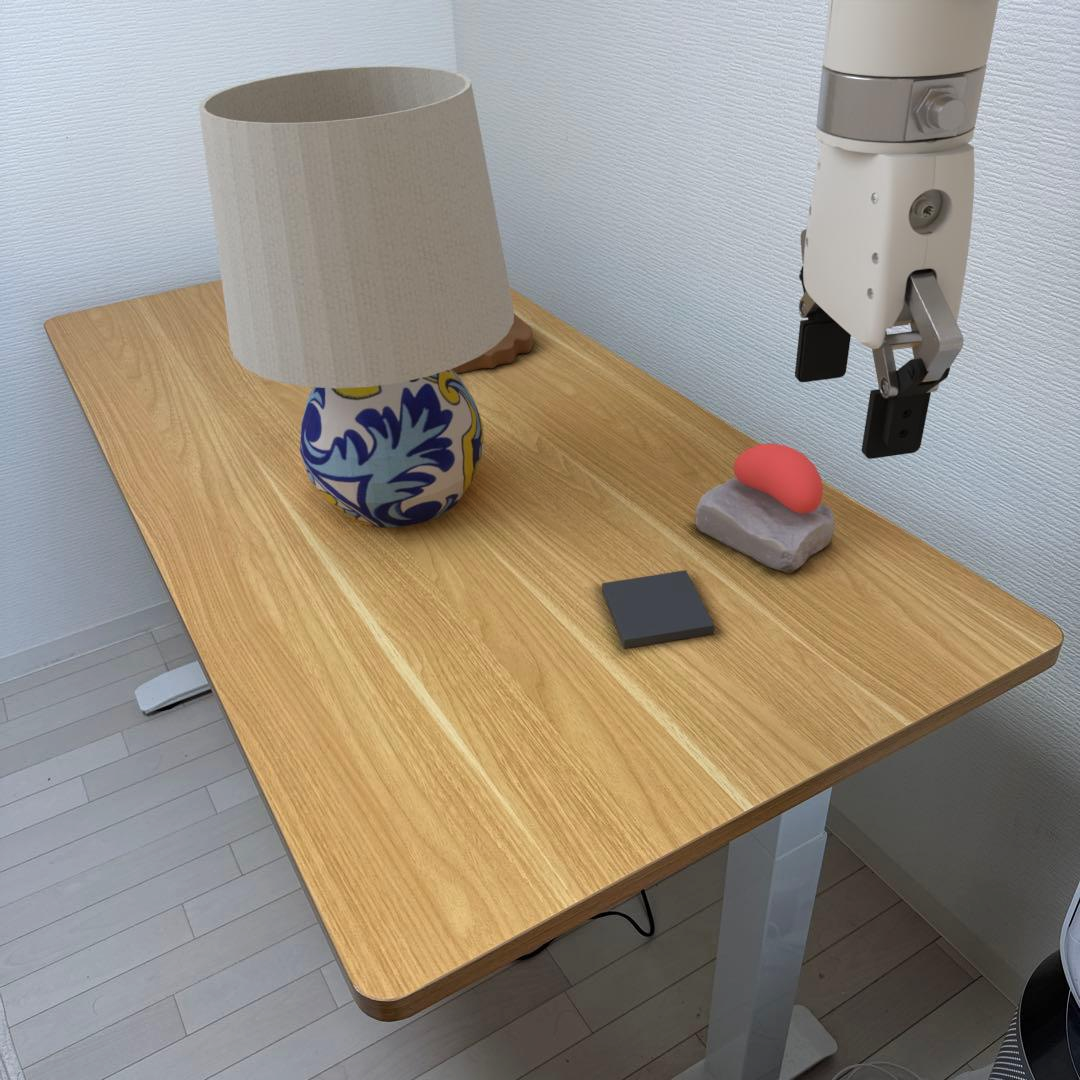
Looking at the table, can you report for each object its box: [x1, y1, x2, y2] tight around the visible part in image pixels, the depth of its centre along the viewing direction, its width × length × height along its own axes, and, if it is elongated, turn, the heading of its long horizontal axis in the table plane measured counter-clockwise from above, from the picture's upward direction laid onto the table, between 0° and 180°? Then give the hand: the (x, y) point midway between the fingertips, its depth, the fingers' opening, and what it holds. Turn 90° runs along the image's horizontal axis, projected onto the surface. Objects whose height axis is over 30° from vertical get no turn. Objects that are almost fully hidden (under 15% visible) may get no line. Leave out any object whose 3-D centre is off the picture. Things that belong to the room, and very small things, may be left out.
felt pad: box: [601, 570, 715, 649], centre depth 85 cm, size 8×8×1 cm
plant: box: [452, 313, 534, 374], centre depth 131 cm, size 20×20×11 cm
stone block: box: [694, 477, 836, 574], centre depth 94 cm, size 12×5×10 cm
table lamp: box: [198, 64, 515, 529], centre depth 92 cm, size 27×27×40 cm
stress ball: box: [733, 442, 824, 514], centre depth 91 cm, size 5×9×6 cm, turn 31°
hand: (852, 413), depth 57 cm, fingers open, 9 cm apart
